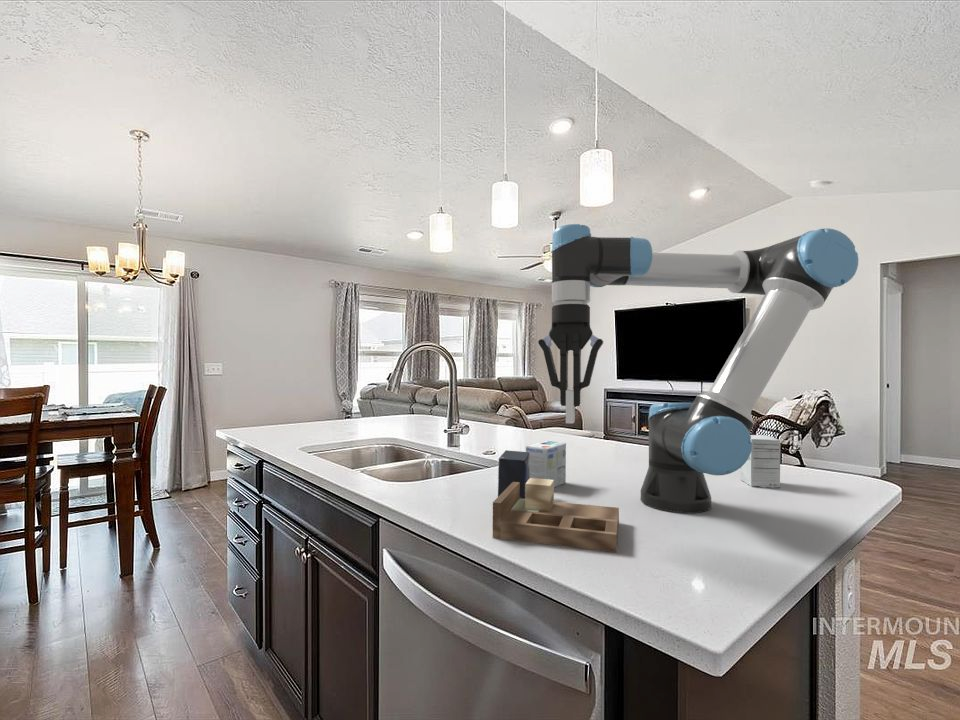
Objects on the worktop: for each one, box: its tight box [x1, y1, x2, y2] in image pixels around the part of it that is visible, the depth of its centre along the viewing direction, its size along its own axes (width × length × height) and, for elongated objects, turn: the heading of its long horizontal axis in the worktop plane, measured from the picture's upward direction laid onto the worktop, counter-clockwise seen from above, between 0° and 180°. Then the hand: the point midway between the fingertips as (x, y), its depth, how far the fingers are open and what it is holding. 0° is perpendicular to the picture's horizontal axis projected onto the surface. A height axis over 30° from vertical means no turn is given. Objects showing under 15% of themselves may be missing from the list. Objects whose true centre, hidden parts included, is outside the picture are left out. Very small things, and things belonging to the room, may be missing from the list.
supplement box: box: [739, 434, 781, 488], centre depth 131 cm, size 7×7×13 cm
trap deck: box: [492, 482, 620, 553], centre depth 95 cm, size 22×16×6 cm
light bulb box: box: [525, 440, 567, 488], centre depth 129 cm, size 11×7×11 cm, turn 144°
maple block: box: [525, 478, 555, 511], centre depth 100 cm, size 5×5×5 cm
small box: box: [497, 450, 530, 499], centre depth 116 cm, size 11×6×10 cm, turn 168°
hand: (570, 422), depth 99 cm, fingers closed
